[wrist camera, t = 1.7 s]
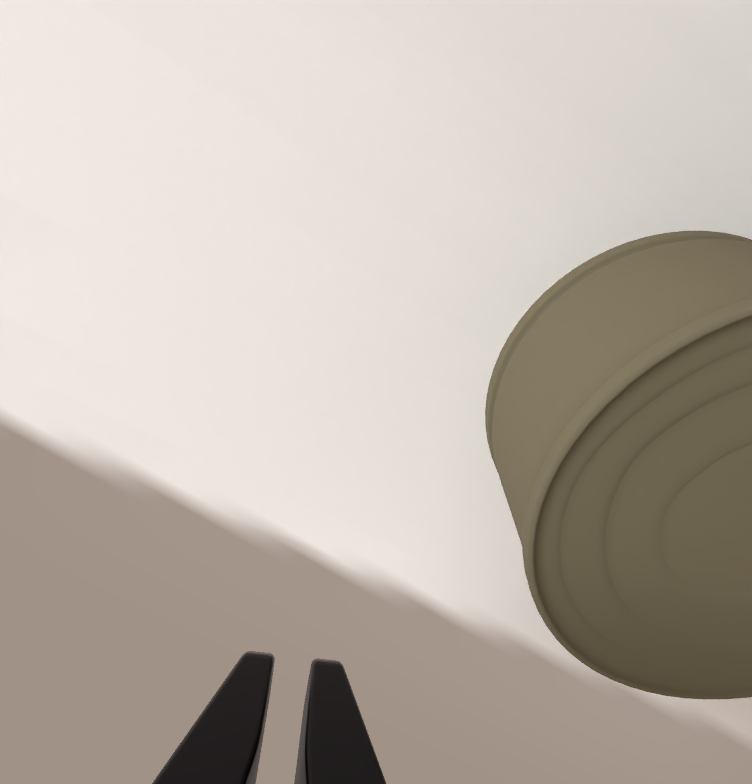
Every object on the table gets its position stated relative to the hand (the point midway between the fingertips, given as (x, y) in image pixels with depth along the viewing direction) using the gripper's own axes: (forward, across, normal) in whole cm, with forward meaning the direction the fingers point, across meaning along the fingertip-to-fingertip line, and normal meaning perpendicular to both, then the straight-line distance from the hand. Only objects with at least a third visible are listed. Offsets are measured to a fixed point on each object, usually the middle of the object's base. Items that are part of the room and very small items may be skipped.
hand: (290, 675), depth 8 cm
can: (+12, -11, 0) cm, 17 cm away
